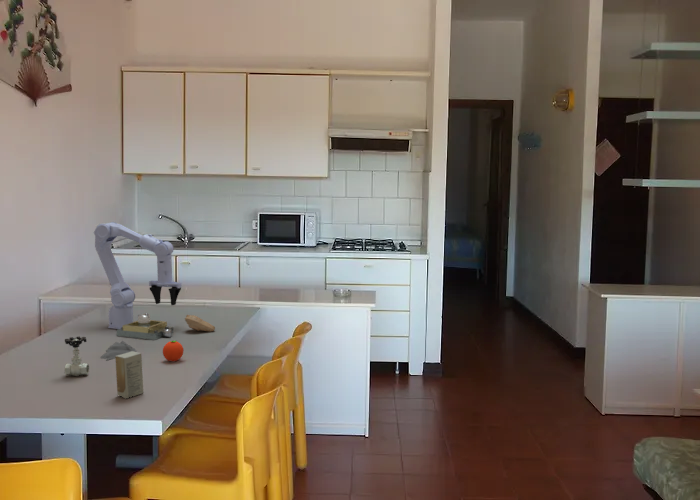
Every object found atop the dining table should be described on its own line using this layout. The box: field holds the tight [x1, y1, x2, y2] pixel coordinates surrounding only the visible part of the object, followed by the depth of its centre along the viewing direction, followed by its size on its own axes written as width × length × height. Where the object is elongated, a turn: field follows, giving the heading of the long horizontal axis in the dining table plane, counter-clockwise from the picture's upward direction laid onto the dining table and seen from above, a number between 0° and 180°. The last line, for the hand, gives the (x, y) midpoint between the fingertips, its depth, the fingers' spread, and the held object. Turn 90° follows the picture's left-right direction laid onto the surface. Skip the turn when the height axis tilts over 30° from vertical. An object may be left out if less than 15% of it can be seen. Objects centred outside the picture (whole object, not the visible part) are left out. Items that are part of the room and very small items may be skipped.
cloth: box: [100, 340, 137, 361], centre depth 247 cm, size 26×14×2 cm, turn 174°
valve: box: [64, 336, 90, 377], centre depth 217 cm, size 7×7×12 cm
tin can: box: [137, 312, 151, 327], centre depth 271 cm, size 5×5×6 cm
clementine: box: [162, 340, 184, 362], centre depth 234 cm, size 8×7×7 cm
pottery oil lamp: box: [184, 314, 216, 333], centre depth 277 cm, size 9×12×7 cm
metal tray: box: [116, 319, 174, 341], centre depth 271 cm, size 21×12×4 cm, turn 69°
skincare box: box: [115, 351, 144, 399], centre depth 198 cm, size 6×4×12 cm
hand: (165, 304), depth 280 cm, fingers open, 7 cm apart
